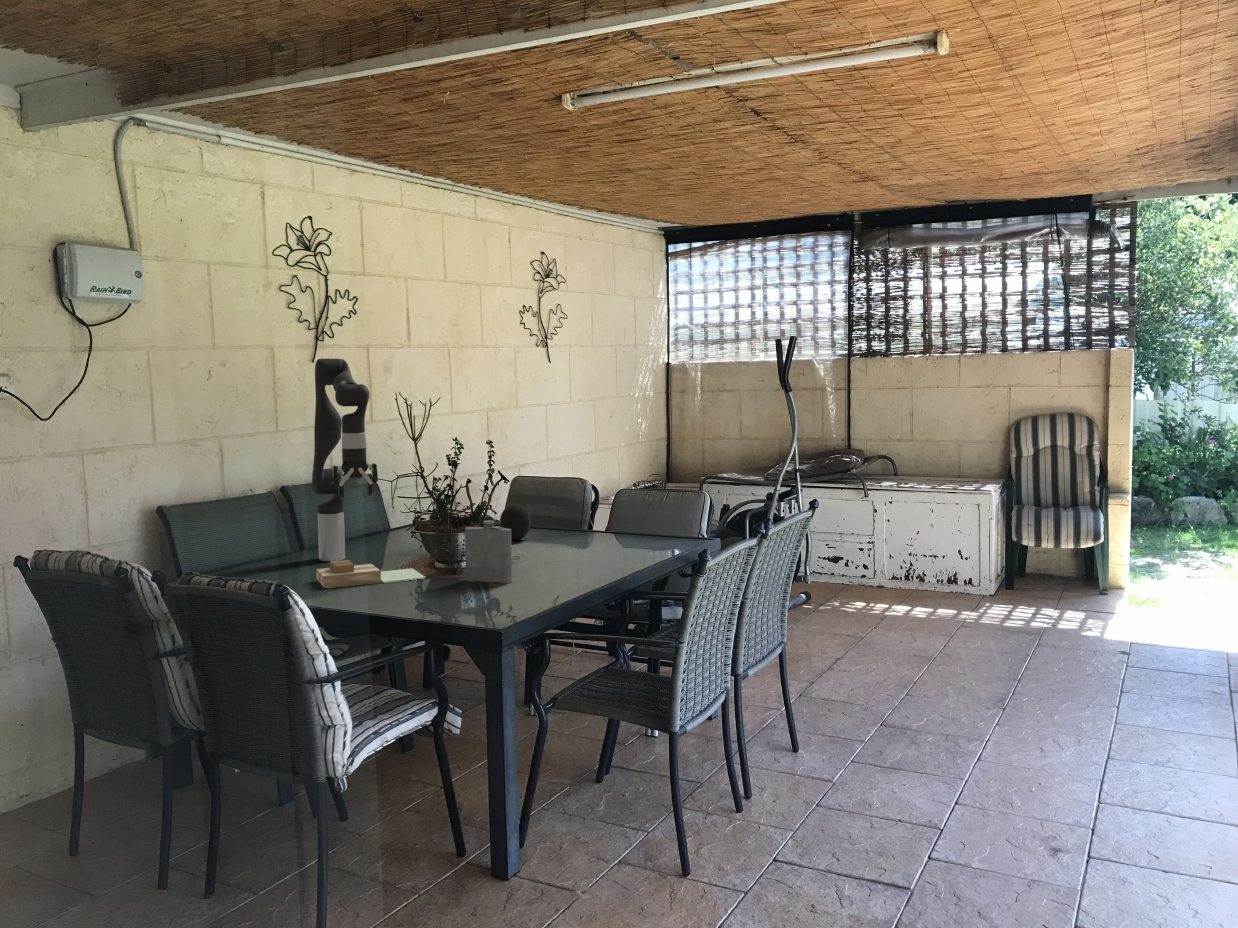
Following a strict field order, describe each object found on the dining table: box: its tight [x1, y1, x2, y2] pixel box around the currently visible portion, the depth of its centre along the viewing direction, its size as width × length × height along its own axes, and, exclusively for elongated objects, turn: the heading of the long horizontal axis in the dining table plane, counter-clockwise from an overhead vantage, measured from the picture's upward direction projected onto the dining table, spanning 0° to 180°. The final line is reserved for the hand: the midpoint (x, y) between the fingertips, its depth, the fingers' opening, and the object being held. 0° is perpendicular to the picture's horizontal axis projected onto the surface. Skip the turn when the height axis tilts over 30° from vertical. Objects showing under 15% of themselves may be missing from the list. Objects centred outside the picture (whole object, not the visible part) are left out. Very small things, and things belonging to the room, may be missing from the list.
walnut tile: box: [329, 559, 355, 574], centre depth 322 cm, size 8×6×2 cm
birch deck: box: [315, 563, 382, 589], centre depth 323 cm, size 13×18×4 cm
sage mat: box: [381, 567, 427, 584], centre depth 331 cm, size 16×14×1 cm
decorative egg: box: [499, 503, 532, 542], centre depth 396 cm, size 12×12×15 cm
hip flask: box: [464, 520, 513, 584], centre depth 322 cm, size 16×4×20 cm, turn 75°
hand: (355, 496), depth 318 cm, fingers open, 8 cm apart
